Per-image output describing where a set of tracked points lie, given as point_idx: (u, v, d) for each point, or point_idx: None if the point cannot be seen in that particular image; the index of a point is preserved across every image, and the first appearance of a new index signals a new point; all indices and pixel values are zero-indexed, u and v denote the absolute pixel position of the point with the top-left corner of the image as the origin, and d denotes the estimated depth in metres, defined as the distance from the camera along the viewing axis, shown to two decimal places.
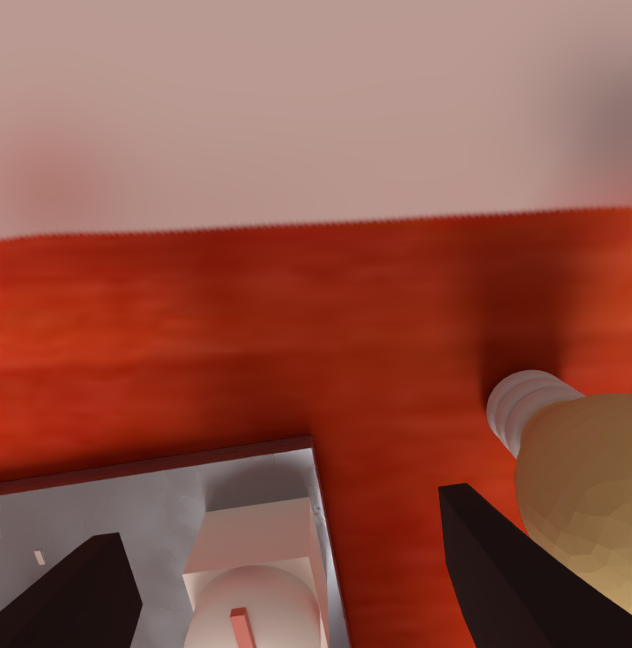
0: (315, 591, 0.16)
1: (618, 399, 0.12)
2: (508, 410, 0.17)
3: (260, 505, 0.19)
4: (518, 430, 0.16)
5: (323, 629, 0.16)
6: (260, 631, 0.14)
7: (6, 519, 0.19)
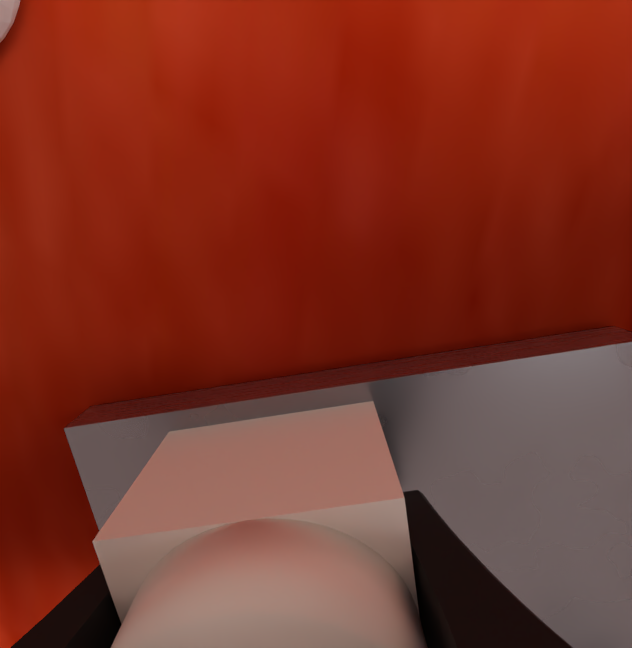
0: (199, 526, 0.06)
1: None
2: None
3: None
4: None
5: (316, 510, 0.06)
6: None
7: None
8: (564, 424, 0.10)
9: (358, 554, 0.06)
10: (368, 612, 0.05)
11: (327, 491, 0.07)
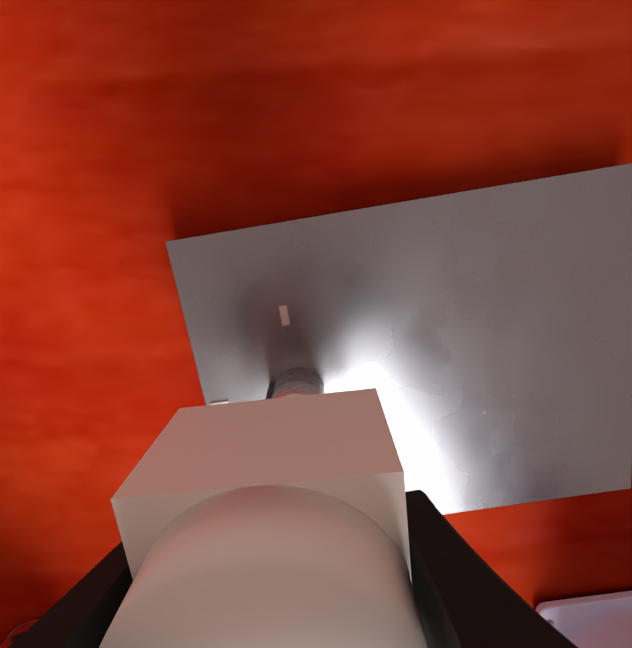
0: (211, 489, 0.07)
1: None
2: None
3: None
4: None
5: (321, 480, 0.07)
6: None
7: (251, 262, 0.16)
8: (589, 455, 0.18)
9: (358, 521, 0.07)
10: (367, 569, 0.06)
11: (331, 464, 0.07)
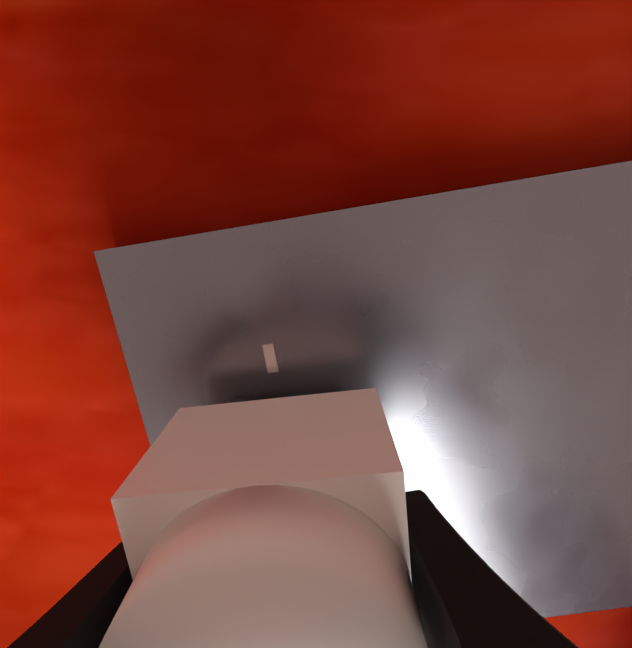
0: (211, 489, 0.07)
1: None
2: None
3: None
4: None
5: (321, 479, 0.07)
6: None
7: (221, 282, 0.11)
8: None
9: (358, 521, 0.07)
10: (367, 569, 0.06)
11: (331, 463, 0.07)
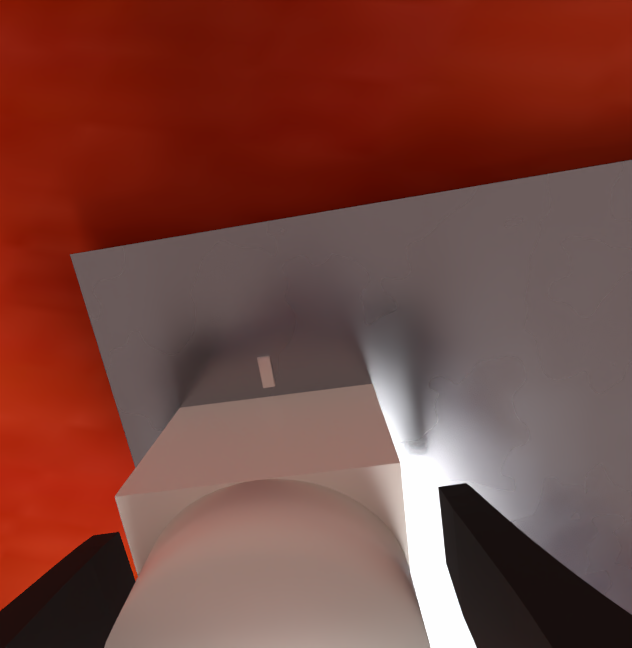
0: (213, 484, 0.07)
1: None
2: None
3: None
4: None
5: (320, 473, 0.07)
6: None
7: (211, 288, 0.10)
8: None
9: (357, 512, 0.07)
10: (366, 557, 0.06)
11: (330, 457, 0.07)
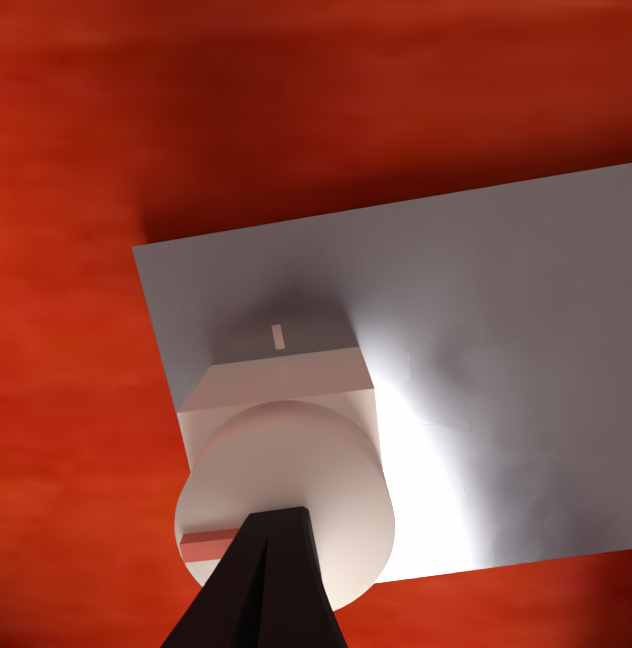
0: (245, 404, 0.10)
1: None
2: None
3: None
4: None
5: (319, 395, 0.10)
6: (232, 517, 0.09)
7: (237, 272, 0.13)
8: None
9: (344, 421, 0.10)
10: (349, 442, 0.09)
11: (326, 387, 0.10)
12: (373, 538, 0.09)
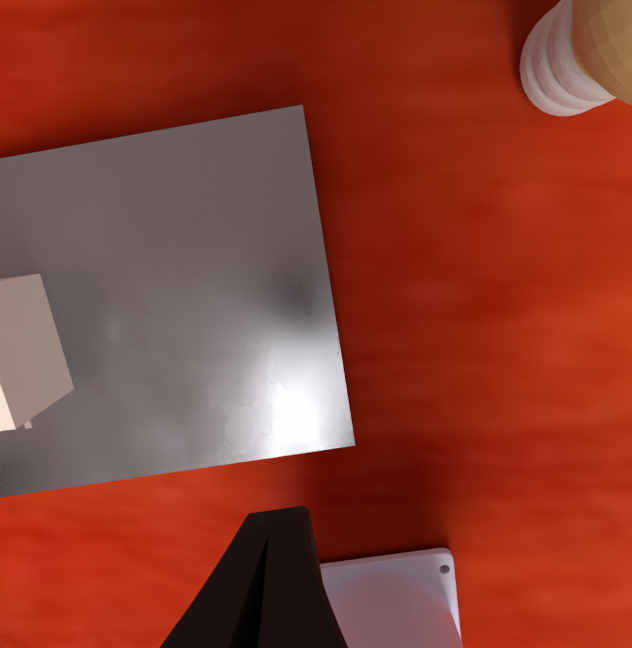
0: None
1: None
2: (552, 19, 0.13)
3: None
4: (568, 17, 0.12)
5: None
6: None
7: None
8: (306, 411, 0.18)
9: None
10: None
11: None
12: None
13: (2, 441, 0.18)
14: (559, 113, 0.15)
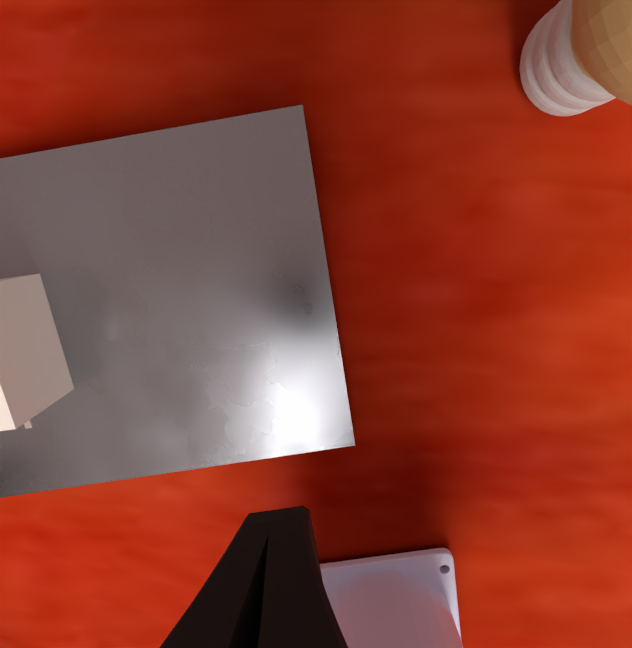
0: None
1: None
2: (552, 19, 0.13)
3: None
4: (569, 17, 0.12)
5: None
6: None
7: None
8: (306, 411, 0.18)
9: None
10: None
11: None
12: None
13: (2, 441, 0.18)
14: (559, 113, 0.15)
